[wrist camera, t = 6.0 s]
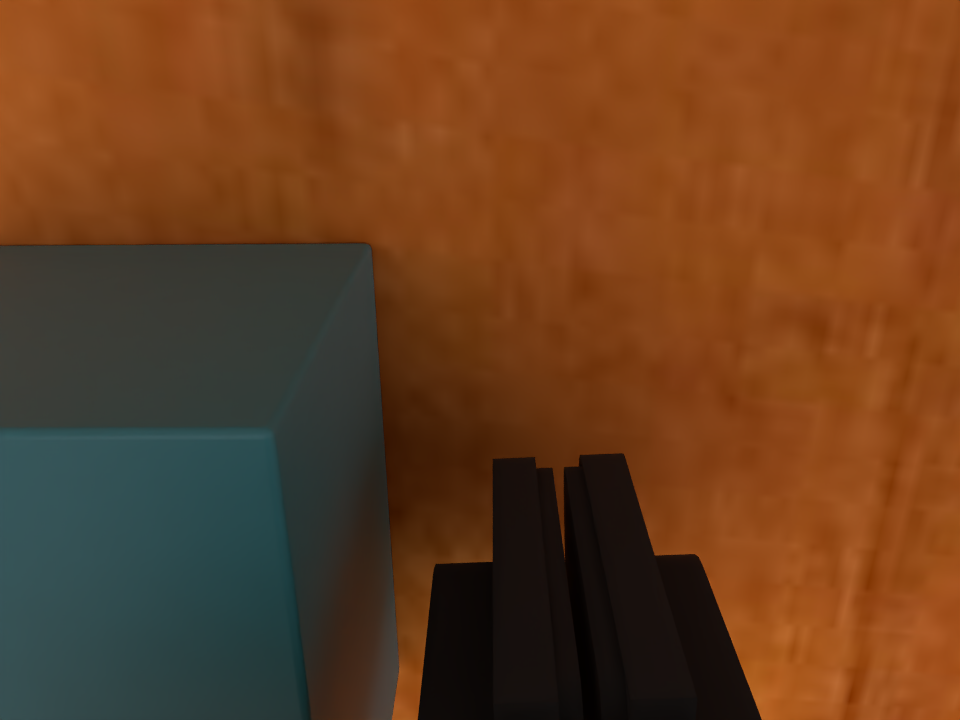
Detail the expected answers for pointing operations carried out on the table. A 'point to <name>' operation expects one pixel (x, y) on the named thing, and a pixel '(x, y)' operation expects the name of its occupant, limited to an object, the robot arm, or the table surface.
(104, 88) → the table surface
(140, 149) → the table surface
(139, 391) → the box
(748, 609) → the table surface
